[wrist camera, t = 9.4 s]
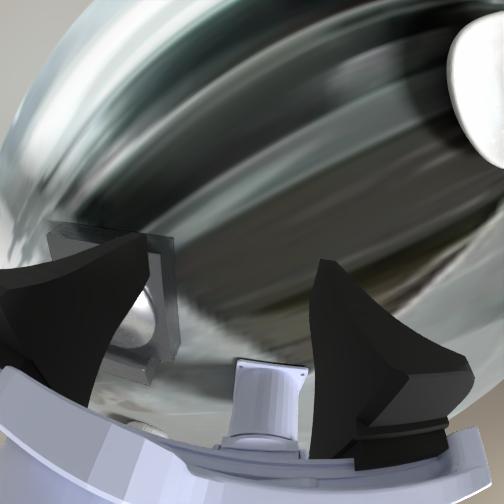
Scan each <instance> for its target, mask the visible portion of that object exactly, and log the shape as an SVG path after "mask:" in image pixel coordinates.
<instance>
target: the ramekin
mask: <svg viewBox="0 0 504 504" xmlns="http://www.w3.org/2000/svg"><path fill="white" fill-rule="evenodd" d="M127 425H128V426H131V427H134V428H137V429H139V430H142V431H145V432H148V433H152V434H155V435H158V436H161V437H165V438H168V436H167V435H166V434H165V433H164V432H162V431H160V430H159V429H157V428H155V427H153V426H150V425H148V424H145V423H142V422H137V421H132V422H129V423H128V424H127ZM168 439H169V438H168Z"/></svg>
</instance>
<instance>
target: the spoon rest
mask: <svg viewBox="0 0 504 504" xmlns="http://www.w3.org/2000/svg"><path fill="white" fill-rule="evenodd" d="M447 84H448V90H449V95H450V99H451V103H452V106H453V109H454V112H455V115H456V117H457V120H458V122H459V124H460V126H461V128H462V130H463V132H464V133H465V135H466V136H467V138H468V140H469V141H470V143H471V144H472V145H473V147H474V148H475V149H476V150H477V152H478V153H479V154H480V155H481V156H482V157H483V158H484V159H486V160H487V161H488V162H490V163H491V164H493V165H495V166H497V167H500V168H503V169H504V11H500V12H496V13H492V14H489V15H486V16H483V17H480V18H478V19H476V20H474V21H472V22H470V23H469V24H468V25H466V26H465V27H464V28H463V29H462V30H461V31H460V32H459V33H458V34H457V36H456V37H455V39H454V40H453V42H452V44H451V47H450V50H449V53H448V58H447Z"/></svg>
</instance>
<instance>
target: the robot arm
mask: <svg viewBox="0 0 504 504" xmlns="http://www.w3.org/2000/svg"><path fill="white" fill-rule="evenodd" d="M149 277H150V269H149V259H148V248H147V236H146V234H141V233H130V234H126V235H123V236H120V237H118V238H115V239H112V240H110V241H107V242H105V243H102V244H100V245H97V246H95V247H92V248H90V249H87V250H84V251H82V252H79V253H77V254H74V255H71V256H68V257H65V258H61V259H58V260H55V261H51V262H46V263H42V264H37V265H33V266H27V267H21V268H13V269H0V430H1V431H2V432H4V433H5V434H6V435H7V436H8V437H7V439H6V441H5V443H4V445H3V446H2V448H1V450H0V504H455V503H457V502H460V501H462V500H464V499H466V498H468V497H470V496H472V495H474V494H476V493H478V492H480V491H482V490H483V489H485V488H487V487H489V486H490V485H491V484H492V481H491V476H490V472H489V467H488V463H487V458H486V455H485V451H484V447H483V444H482V440H481V437H480V433H479V430H478V427H477V426H473V427H470V428H467V429H463V430H460V431H456V432H454V433H452V434H450V435H448V436H446V434H445V430H444V429H445V428H447V427H448V425H449V421H448V418H447V415H448V414H449V413H450V412H452V411H453V410H454V409H455V408H456V407H457V406H458V405H459V404H460V403H461V402H462V401H463V400H464V398H465V397H466V396H467V395H468V394H469V392H470V390H471V389H472V387H473V384H474V380H475V377H474V374H473V372H472V370H471V368H470V365H469V363H468V361H467V359H466V357H465V356H463V355H461V354H458V353H456V352H454V351H451V350H449V349H447V348H444V347H442V346H440V345H438V344H436V343H434V342H432V341H431V340H429V339H427V338H425V337H423V336H422V335H420V334H418V333H416V332H415V331H413V330H412V329H410V328H409V327H407V326H406V325H404V324H403V323H401V322H400V321H399V320H397V319H396V318H395V317H393V316H392V315H391V314H389V313H388V312H387V311H386V310H384V309H383V308H382V307H381V306H380V305H379V304H377V303H376V302H375V301H374V300H373V299H372V298H371V297H370V296H369V295H368V294H367V293H366V292H365V291H364V290H363V289H362V288H361V287H360V286H359V285H358V284H357V283H356V282H355V281H354V280H353V279H352V278H351V277H350V276H349V275H348V273H347V272H346V271H345V270H344V269H343V268H342V267H341V266H340V265H339V264H338V263H337V262H336V261H331V260H324V259H320V263H319V267H318V271H317V274H316V278H315V282H314V286H313V289H312V293H311V297H310V302H309V322H310V331H311V339H312V348H313V356H314V365H315V397H314V414H313V426H312V436H311V444H310V451H309V453H308V452H307V451H306V449H300V450H299V441H297V433H298V394H299V392H300V389H301V387H302V385H303V383H304V380H305V378H306V376H307V373H308V368H306V367H297V366H287V365H279V364H271V363H263V362H256V361H249V360H243V359H240V360H238V361H237V366H236V375H235V384H234V393H233V402H234V406H233V411H232V416H231V421H230V426H229V431H228V437H223V439H222V443H221V445H219V444H216V445H214V446H213V447H212V448H211V449H209V448H205V447H200V446H196V445H191V444H187V443H183V442H179V441H175V440H172V439H168V438H165V437H161V436H158V435H155V434H152V433H148V432H145V431H142V430H139V429H137V428H134V427H131V426H128V425H126V424H123V423H120V422H118V421H115V420H113V419H111V418H108V417H106V416H103V415H101V414H99V413H96V412H94V411H92V410H90V409H88V404H89V400H90V396H91V392H92V389H93V385H94V382H95V379H96V376H97V373H98V370H99V368H100V365H101V363H102V360H103V358H104V355H105V353H106V351H107V349H108V347H109V344H110V342H111V340H112V338H113V336H114V334H115V333H116V331H117V329H118V328H119V326H120V325H121V323H122V321H123V320H124V318H125V317H126V315H127V314H128V312H129V311H130V310H131V308H132V307H133V305H134V304H135V302H136V301H137V299H138V298H139V296H140V295H141V293H142V291H143V289H144V287H145V285H146V283H147V281H148V279H149ZM298 452H299V454H298Z"/></svg>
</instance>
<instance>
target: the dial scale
mask: <svg viewBox="0 0 504 504" xmlns="http://www.w3.org/2000/svg"><path fill="white" fill-rule="evenodd" d="M130 233H136V232H129V231H122V230H115V229H108V228H101V227H94V226H87V225H80V224H73V223H66V222H64V223H63V224H61V225H59V226H58V227H56V228H55V229H54V230H52V231H51V232H49V233H48V234H46V236H47V241H48V245H49V249H50V253H51V257H52V261H55V260H58V259H61V258H65V257H68V256H71V255H74V254H77V253H79V252H82V251H84V250H87V249H90V248H92V247H95V246H97V245H100V244H102V243H105V242H107V241H110V240H112V239H115V238H118V237H120V236H123V235H126V234H130ZM141 234H143V233H141ZM146 236H147V248H148V259H149V269H150V277H149V279H148V281H147V283H146V285H145V287H144V289H143V291H142V293H141V295H140V296H139V298H138V299H137V301H136V302H135V304H134V305H133V307H132V308H131V310H130V311H129V312H128V314H127V315H126V317H125V318H124V320H123V321H122V323H121V325H120V326H119V328H118V329H117V331H116V333H115V334H114V336H113V338H112V340H111V342H110V344H109V347H108V349H107V351H106V353H105V355H104V358H103V360H102V363H101V365H100V368H99V369H101V370H103V371H106V372H109V373H111V374H114V375H117V376H120V377H122V378H125V379H128V380H131V381H134V382H137V383H141V384H144V385H147V386H150V384H151V381H152V379H153V377H154V375H155V372H156V370H157V368H158V366H159V363H160V361H161V360H164V361H167V362H171V363H173V361H174V359H175V356H176V354H177V351H178V349H179V347H180V344H181V339H180V329H179V318H178V306H177V293H176V277H175V256H174V238H171V237H164V236H157V235H150V234H146Z"/></svg>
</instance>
